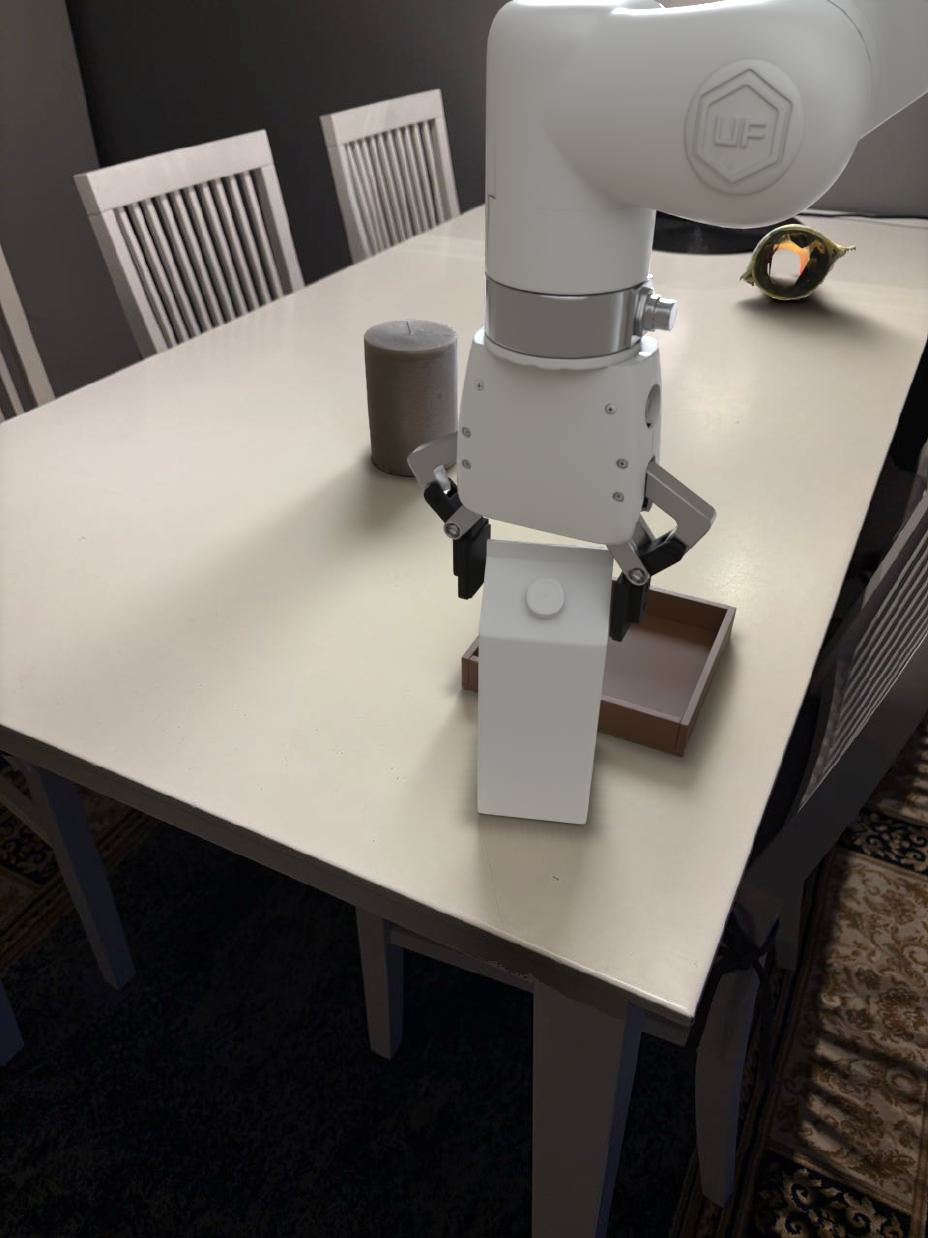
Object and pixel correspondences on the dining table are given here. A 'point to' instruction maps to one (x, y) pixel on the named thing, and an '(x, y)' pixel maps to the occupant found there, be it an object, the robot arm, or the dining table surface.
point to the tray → (654, 669)
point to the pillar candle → (409, 389)
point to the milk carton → (541, 677)
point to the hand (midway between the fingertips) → (546, 606)
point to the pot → (812, 253)
